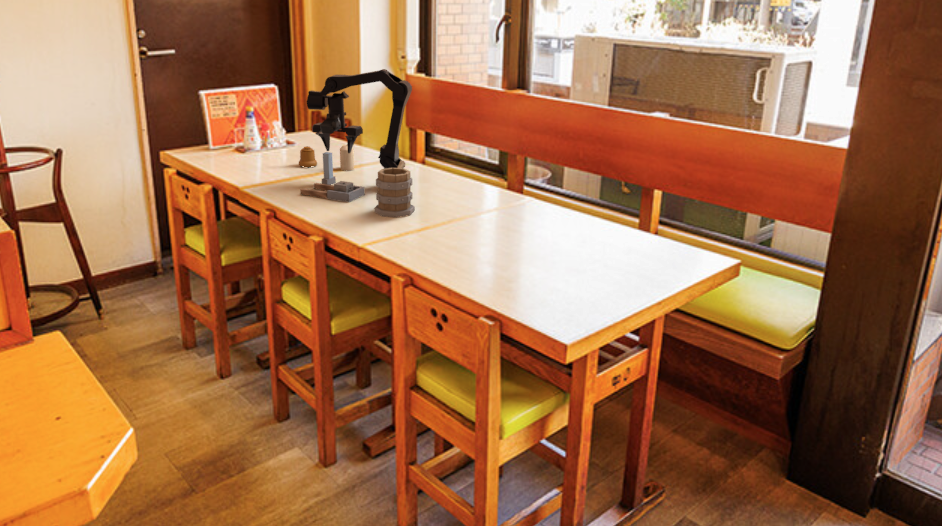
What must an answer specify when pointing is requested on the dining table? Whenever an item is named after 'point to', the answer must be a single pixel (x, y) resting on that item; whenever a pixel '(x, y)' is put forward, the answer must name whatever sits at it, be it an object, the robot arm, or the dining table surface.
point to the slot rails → (316, 192)
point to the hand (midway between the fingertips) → (338, 152)
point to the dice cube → (343, 186)
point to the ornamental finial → (307, 157)
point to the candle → (346, 158)
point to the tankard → (394, 192)
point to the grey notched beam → (328, 169)
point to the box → (346, 194)
